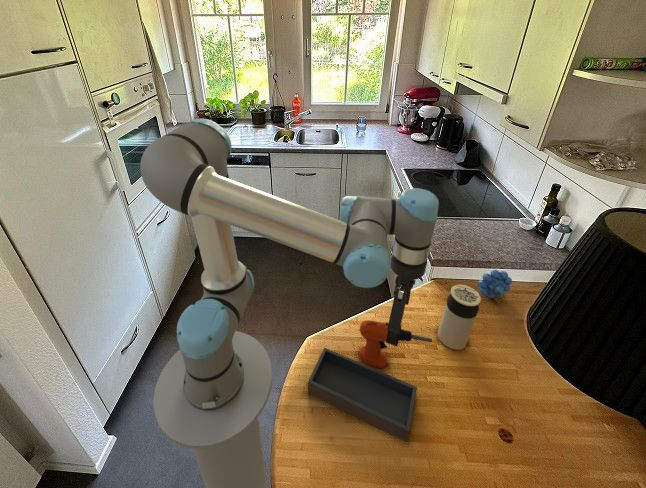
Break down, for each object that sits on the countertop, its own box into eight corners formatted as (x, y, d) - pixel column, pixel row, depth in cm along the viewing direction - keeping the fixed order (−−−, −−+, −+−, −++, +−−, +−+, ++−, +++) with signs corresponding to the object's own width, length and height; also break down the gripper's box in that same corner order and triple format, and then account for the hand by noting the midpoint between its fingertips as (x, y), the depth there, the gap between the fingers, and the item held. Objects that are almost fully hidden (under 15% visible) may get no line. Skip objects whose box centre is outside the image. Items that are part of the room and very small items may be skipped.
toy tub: (307, 392, 82) (307, 382, 80) (324, 357, 91) (324, 347, 88) (406, 442, 73) (409, 431, 70) (414, 397, 81) (417, 387, 79)
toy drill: (430, 380, 83) (433, 340, 77) (357, 364, 90) (354, 326, 83) (430, 363, 87) (432, 324, 81) (360, 349, 94) (358, 311, 87)
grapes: (480, 308, 106) (490, 281, 100) (469, 292, 112) (478, 266, 106) (514, 305, 107) (525, 278, 101) (501, 290, 112) (511, 264, 107)
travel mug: (464, 355, 91) (480, 310, 83) (434, 342, 95) (447, 298, 86) (468, 334, 97) (483, 290, 89) (440, 322, 101) (452, 279, 92)
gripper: (418, 300, 60) (403, 371, 70) (434, 229, 80) (420, 292, 90) (378, 288, 63) (369, 357, 73) (403, 222, 83) (393, 284, 93)
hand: (397, 321), depth 81 cm, fingers open, 13 cm apart
